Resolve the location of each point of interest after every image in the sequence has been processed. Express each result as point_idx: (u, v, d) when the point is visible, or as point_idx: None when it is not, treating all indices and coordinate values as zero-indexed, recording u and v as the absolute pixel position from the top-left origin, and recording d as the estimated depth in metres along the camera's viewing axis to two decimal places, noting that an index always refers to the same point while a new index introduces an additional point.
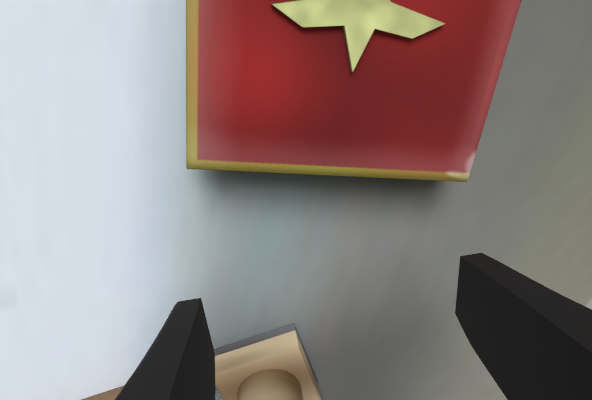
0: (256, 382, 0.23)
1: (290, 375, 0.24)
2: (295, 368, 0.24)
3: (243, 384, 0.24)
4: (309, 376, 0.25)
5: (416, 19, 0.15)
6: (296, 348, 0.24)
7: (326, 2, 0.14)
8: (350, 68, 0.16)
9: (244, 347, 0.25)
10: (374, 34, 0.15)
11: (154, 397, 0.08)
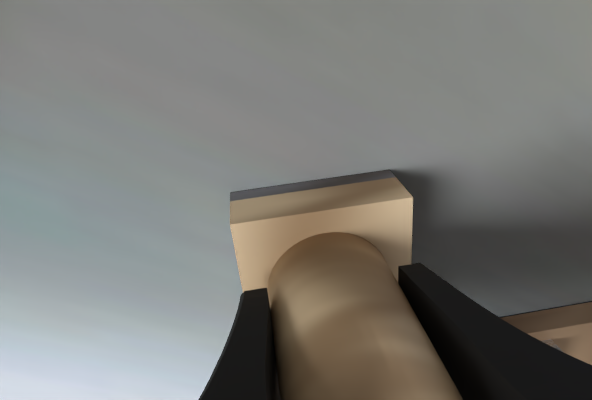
0: None
1: (291, 250, 0.12)
2: (283, 236, 0.12)
3: None
4: (316, 213, 0.12)
5: None
6: (231, 228, 0.12)
7: None
8: None
9: None
10: None
11: (250, 381, 0.08)
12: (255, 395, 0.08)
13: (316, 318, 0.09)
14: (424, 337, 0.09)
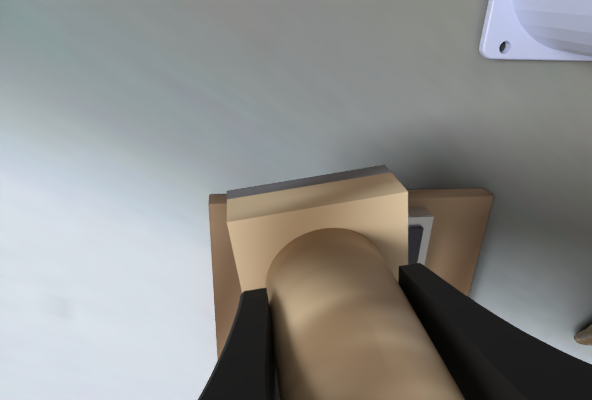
0: None
1: (288, 246, 0.12)
2: (279, 232, 0.12)
3: None
4: (312, 209, 0.12)
5: None
6: (228, 226, 0.12)
7: None
8: None
9: None
10: None
11: (249, 380, 0.08)
12: (254, 395, 0.08)
13: (313, 312, 0.09)
14: (420, 329, 0.09)
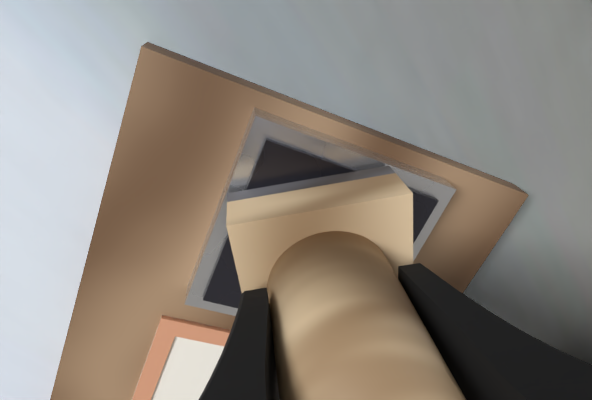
0: None
1: (290, 250, 0.12)
2: (280, 236, 0.12)
3: None
4: (313, 212, 0.12)
5: None
6: (227, 229, 0.11)
7: None
8: None
9: None
10: None
11: (250, 380, 0.08)
12: (255, 395, 0.08)
13: (314, 321, 0.09)
14: (426, 337, 0.09)
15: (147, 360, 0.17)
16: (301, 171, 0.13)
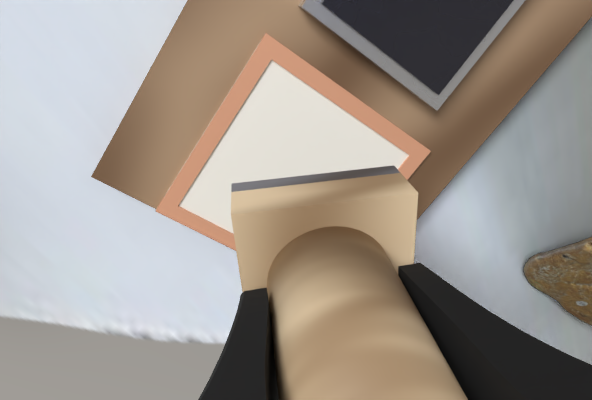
0: None
1: (292, 243, 0.12)
2: (284, 228, 0.12)
3: None
4: (319, 205, 0.12)
5: None
6: (231, 218, 0.11)
7: None
8: None
9: None
10: None
11: (250, 380, 0.08)
12: (254, 395, 0.08)
13: (317, 312, 0.09)
14: (428, 334, 0.09)
15: (237, 81, 0.17)
16: None
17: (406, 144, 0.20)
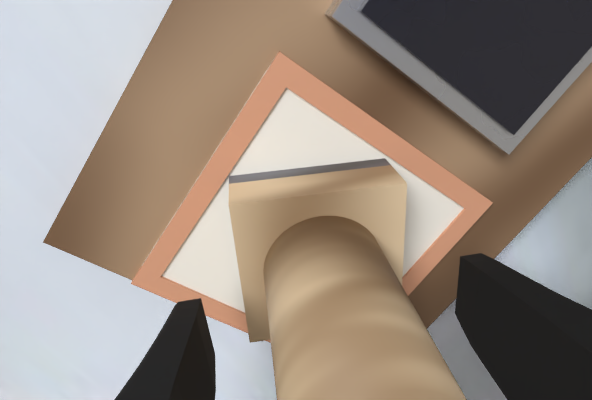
0: None
1: (288, 232, 0.12)
2: (279, 217, 0.12)
3: None
4: (312, 196, 0.12)
5: None
6: (229, 208, 0.12)
7: None
8: None
9: None
10: None
11: (154, 397, 0.08)
12: None
13: (310, 293, 0.10)
14: (414, 313, 0.10)
15: (239, 116, 0.13)
16: None
17: (462, 195, 0.15)
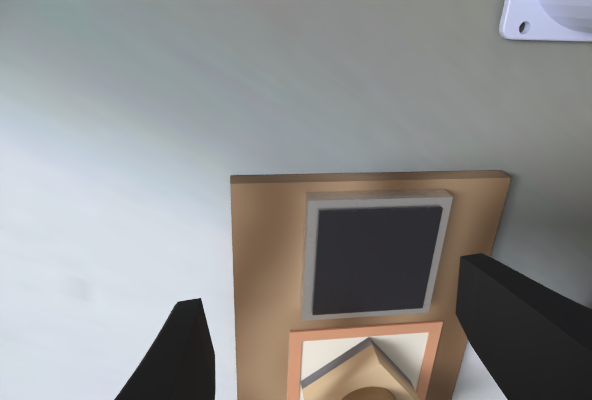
0: None
1: None
2: None
3: None
4: (339, 389, 0.24)
5: None
6: None
7: None
8: None
9: None
10: None
11: (154, 397, 0.08)
12: None
13: None
14: None
15: (289, 361, 0.25)
16: (347, 222, 0.20)
17: (422, 328, 0.25)
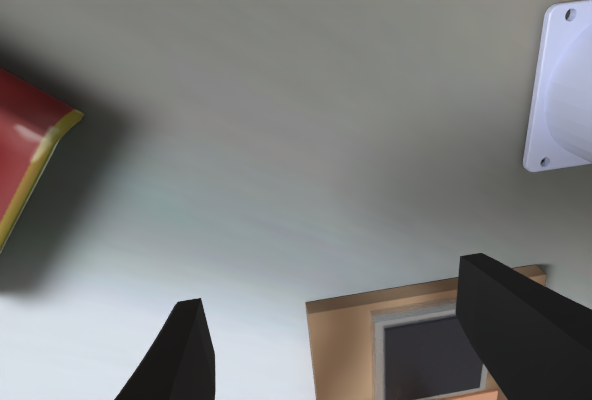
0: None
1: None
2: None
3: None
4: None
5: None
6: None
7: None
8: None
9: None
10: None
11: (154, 397, 0.08)
12: None
13: None
14: None
15: None
16: (408, 334, 0.24)
17: (480, 398, 0.29)
